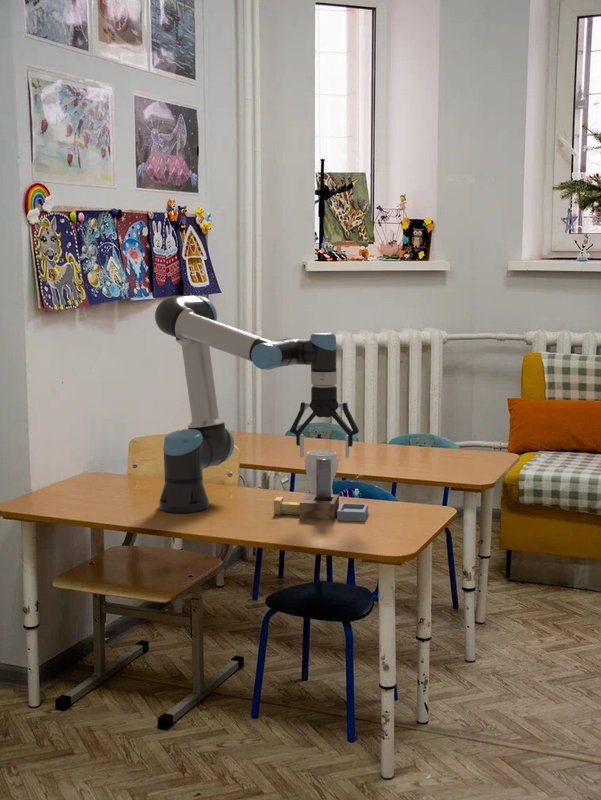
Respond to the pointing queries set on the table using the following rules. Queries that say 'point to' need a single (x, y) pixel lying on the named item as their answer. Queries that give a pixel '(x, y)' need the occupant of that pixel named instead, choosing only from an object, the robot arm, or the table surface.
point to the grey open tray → (352, 512)
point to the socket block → (318, 508)
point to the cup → (311, 466)
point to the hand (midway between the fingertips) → (324, 457)
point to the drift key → (286, 507)
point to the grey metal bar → (323, 479)
